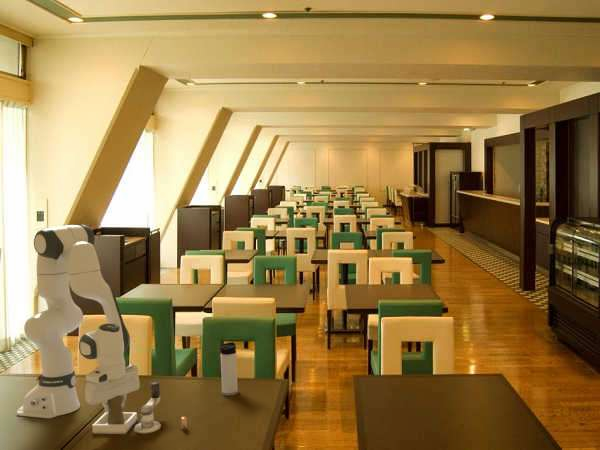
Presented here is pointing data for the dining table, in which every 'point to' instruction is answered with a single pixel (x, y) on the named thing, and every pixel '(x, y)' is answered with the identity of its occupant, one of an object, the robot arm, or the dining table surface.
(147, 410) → the crank
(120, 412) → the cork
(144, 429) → the crank stand
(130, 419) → the tray
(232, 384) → the travel mug
